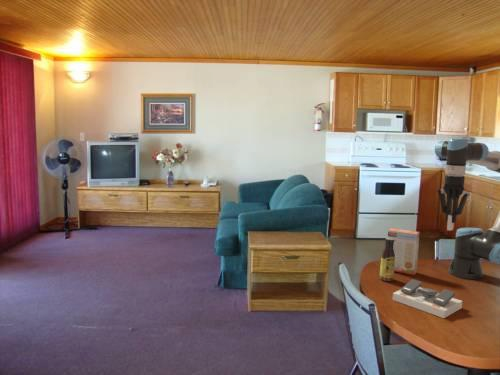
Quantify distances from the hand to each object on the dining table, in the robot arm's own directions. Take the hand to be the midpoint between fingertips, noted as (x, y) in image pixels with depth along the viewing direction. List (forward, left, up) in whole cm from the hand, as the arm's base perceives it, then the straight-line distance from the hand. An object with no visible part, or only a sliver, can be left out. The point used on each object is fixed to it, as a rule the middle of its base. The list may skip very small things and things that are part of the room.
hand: (450, 229), depth 187 cm
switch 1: (+18, -6, -24) cm, 30 cm away
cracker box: (-10, -27, -29) cm, 41 cm away
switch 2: (+18, +8, -24) cm, 31 cm away
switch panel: (+18, +1, -28) cm, 33 cm away
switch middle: (+18, +1, -24) cm, 30 cm away
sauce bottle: (+6, -25, -29) cm, 38 cm away
